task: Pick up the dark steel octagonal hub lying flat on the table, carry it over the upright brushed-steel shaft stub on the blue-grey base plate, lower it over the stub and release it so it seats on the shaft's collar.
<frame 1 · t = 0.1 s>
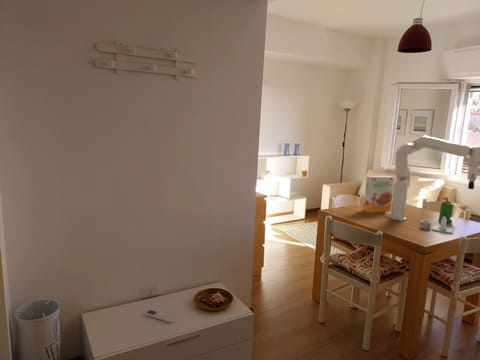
hand: (470, 187, 243), 31 cm above the table, fingers open, 9 cm apart
shaft block: (442, 230, 246), on the table
hub: (424, 228, 249), on the table
cereal box: (376, 211, 295), on the table
green toy figure: (444, 222, 267), on the table
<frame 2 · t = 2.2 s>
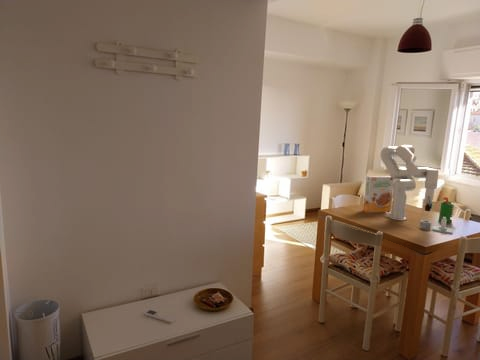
hand: (428, 209, 246), 14 cm above the table, fingers open, 9 cm apart
nothing on the table moved.
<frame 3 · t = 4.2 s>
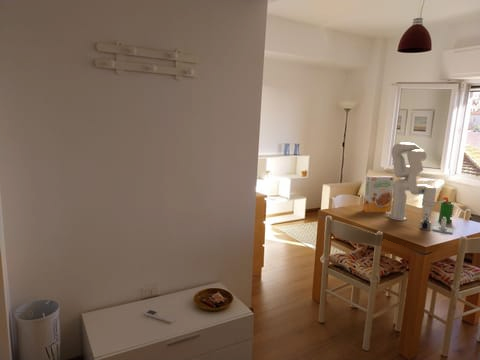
hand: (425, 227, 249), 1 cm above the table, fingers closed on hub, 6 cm apart
hub: (424, 228, 249), on the table, touching gripper
everything else where it was.
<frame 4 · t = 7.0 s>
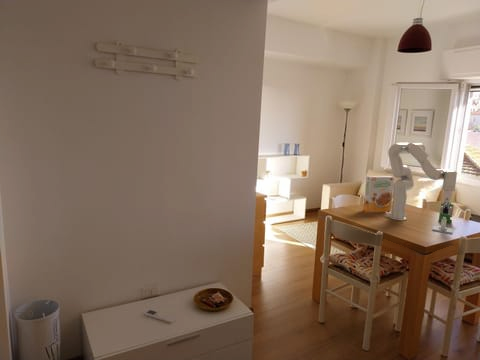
hand: (445, 212, 243), 13 cm above the table, fingers closed on hub, 6 cm apart
hub: (445, 213, 243), point 12 cm above the table, touching gripper
everything else where it was.
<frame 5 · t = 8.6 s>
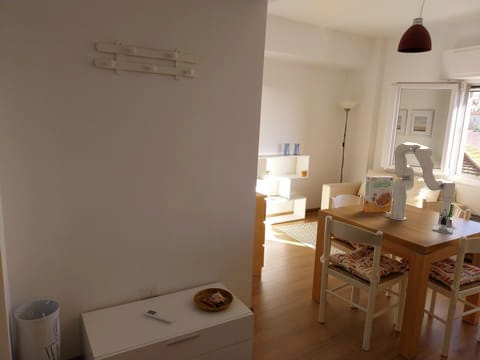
hand: (443, 223, 245), 5 cm above the table, fingers closed on hub, 6 cm apart
hub: (443, 224, 245), point 4 cm above the table, touching gripper
everything else where it was.
when the fingers open (5 cm above the table, at t = 10.0 s): hub drops 1 cm, resting on shaft block.
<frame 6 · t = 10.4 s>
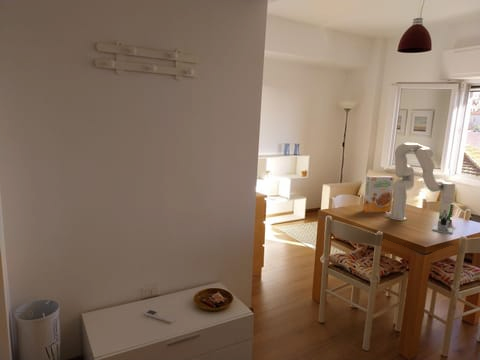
hand: (443, 223, 245), 5 cm above the table, fingers open, 9 cm apart
hub: (442, 227, 245), point 2 cm above the table, touching shaft block
everything else where it was.
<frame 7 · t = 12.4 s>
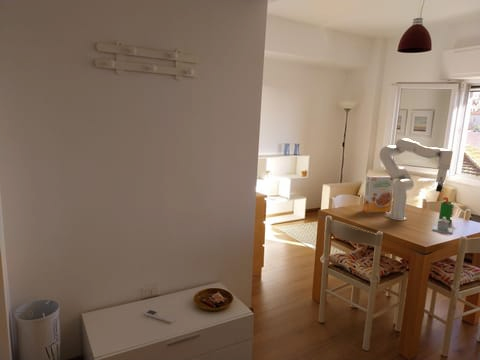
hand: (439, 190, 246), 28 cm above the table, fingers open, 9 cm apart
nothing on the table moved.
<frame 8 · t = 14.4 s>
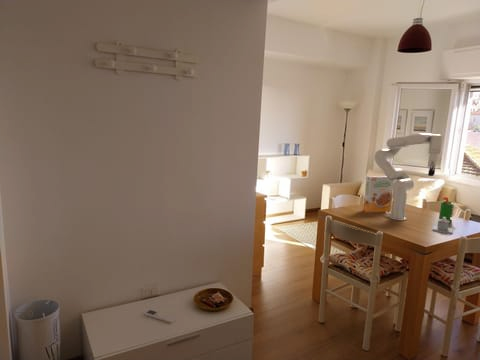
hand: (431, 175, 249), 38 cm above the table, fingers open, 9 cm apart
nothing on the table moved.
at the end: hub 0.1 cm off-centre on the shaft block, point 2.2 cm above the shaft block's base; hub tilted 0°; the gripper is holding nothing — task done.
